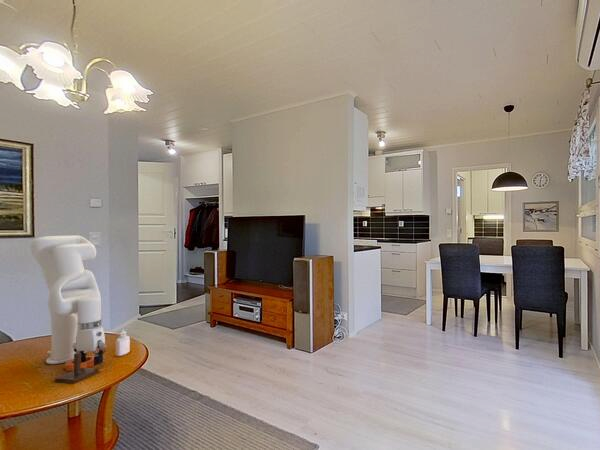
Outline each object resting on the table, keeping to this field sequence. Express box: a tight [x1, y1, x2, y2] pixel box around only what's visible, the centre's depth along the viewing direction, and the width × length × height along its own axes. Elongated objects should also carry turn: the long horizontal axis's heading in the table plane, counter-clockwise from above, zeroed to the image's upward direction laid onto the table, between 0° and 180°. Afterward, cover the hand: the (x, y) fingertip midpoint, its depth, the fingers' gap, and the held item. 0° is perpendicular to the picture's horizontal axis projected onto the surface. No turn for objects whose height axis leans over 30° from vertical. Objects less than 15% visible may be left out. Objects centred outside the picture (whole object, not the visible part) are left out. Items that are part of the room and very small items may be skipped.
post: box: [54, 352, 100, 384], centre depth 127 cm, size 9×9×10 cm
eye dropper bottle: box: [115, 329, 131, 357], centre depth 150 cm, size 4×6×12 cm
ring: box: [64, 354, 95, 372], centre depth 137 cm, size 10×10×2 cm
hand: (89, 363), depth 137 cm, fingers open, 8 cm apart
